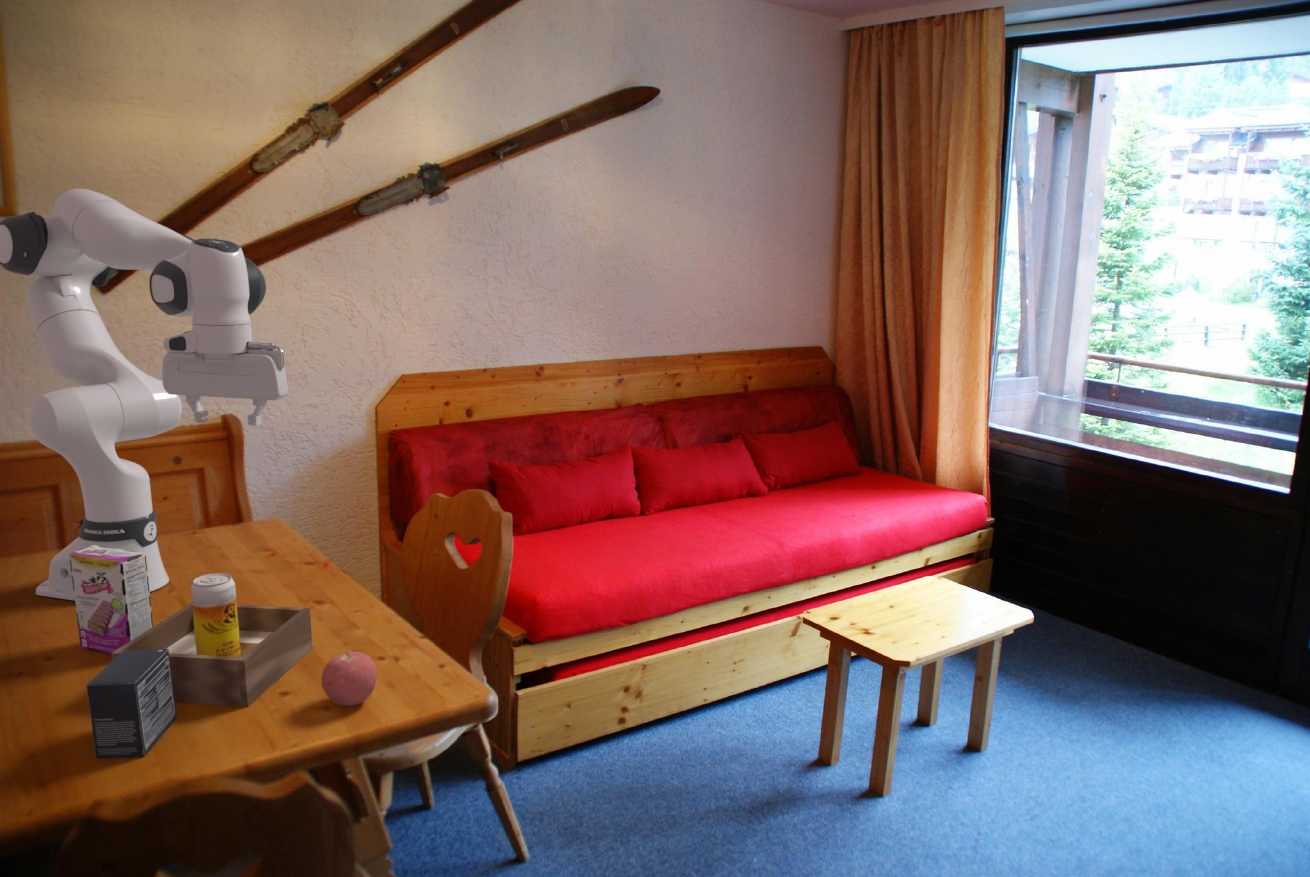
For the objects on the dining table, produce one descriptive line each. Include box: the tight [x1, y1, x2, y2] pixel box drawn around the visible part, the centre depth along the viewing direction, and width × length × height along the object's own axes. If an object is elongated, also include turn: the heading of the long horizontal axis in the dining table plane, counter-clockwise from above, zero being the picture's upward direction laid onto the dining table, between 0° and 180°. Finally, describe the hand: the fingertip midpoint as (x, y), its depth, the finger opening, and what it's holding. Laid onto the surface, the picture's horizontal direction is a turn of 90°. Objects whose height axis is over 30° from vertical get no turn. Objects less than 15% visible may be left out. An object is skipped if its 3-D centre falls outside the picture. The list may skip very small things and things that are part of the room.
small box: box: [86, 649, 178, 760], centre depth 126 cm, size 11×6×10 cm, turn 5°
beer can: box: [190, 572, 241, 657], centre depth 145 cm, size 6×6×15 cm
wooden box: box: [110, 602, 313, 708], centre depth 146 cm, size 20×20×7 cm
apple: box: [321, 651, 378, 707], centre depth 136 cm, size 7×7×8 cm
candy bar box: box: [69, 545, 154, 655], centre depth 153 cm, size 11×5×16 cm, turn 71°
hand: (228, 423), depth 159 cm, fingers open, 8 cm apart
